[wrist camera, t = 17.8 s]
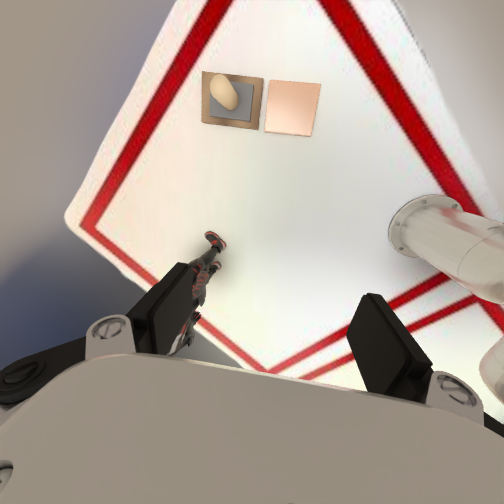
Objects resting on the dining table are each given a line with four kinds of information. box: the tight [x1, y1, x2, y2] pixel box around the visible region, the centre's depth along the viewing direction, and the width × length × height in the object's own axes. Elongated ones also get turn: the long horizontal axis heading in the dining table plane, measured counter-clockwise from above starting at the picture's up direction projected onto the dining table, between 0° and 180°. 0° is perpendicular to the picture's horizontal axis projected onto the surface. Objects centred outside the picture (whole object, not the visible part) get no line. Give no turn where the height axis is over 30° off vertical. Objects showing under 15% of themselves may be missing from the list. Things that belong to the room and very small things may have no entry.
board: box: [202, 71, 263, 130], centre depth 35 cm, size 10×7×1 cm
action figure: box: [167, 232, 226, 357], centre depth 35 cm, size 10×11×30 cm
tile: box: [265, 80, 321, 136], centre depth 34 cm, size 2×7×8 cm
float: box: [209, 74, 254, 122], centre depth 31 cm, size 7×5×8 cm
